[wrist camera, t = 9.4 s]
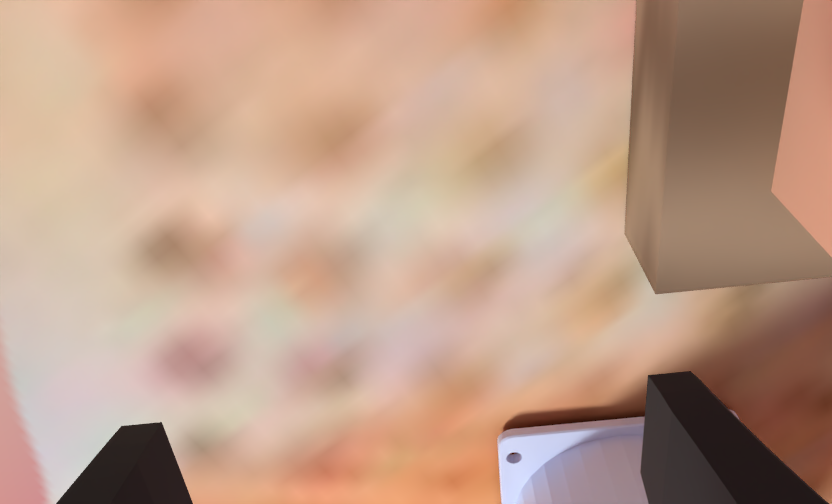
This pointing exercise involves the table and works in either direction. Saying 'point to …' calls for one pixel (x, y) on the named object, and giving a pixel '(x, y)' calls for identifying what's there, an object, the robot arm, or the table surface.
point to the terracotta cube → (809, 127)
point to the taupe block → (713, 146)
